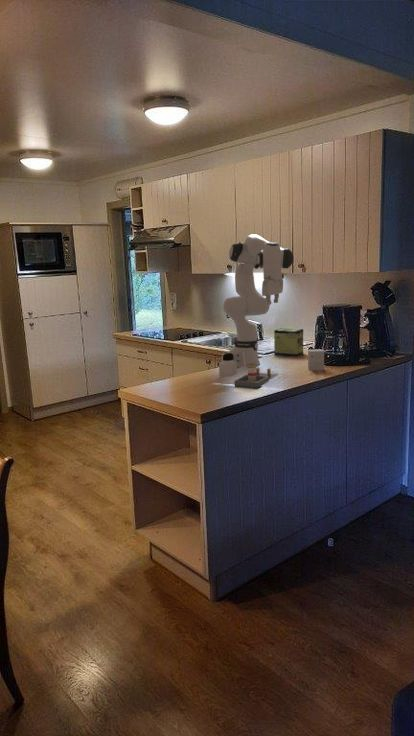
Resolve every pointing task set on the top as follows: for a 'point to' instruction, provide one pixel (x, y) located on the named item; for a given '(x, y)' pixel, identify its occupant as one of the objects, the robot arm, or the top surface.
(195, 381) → the top surface
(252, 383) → the tray
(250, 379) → the fuse
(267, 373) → the clip holder
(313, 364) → the small box
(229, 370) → the medicine bottle
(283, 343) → the protein box
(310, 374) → the top surface
